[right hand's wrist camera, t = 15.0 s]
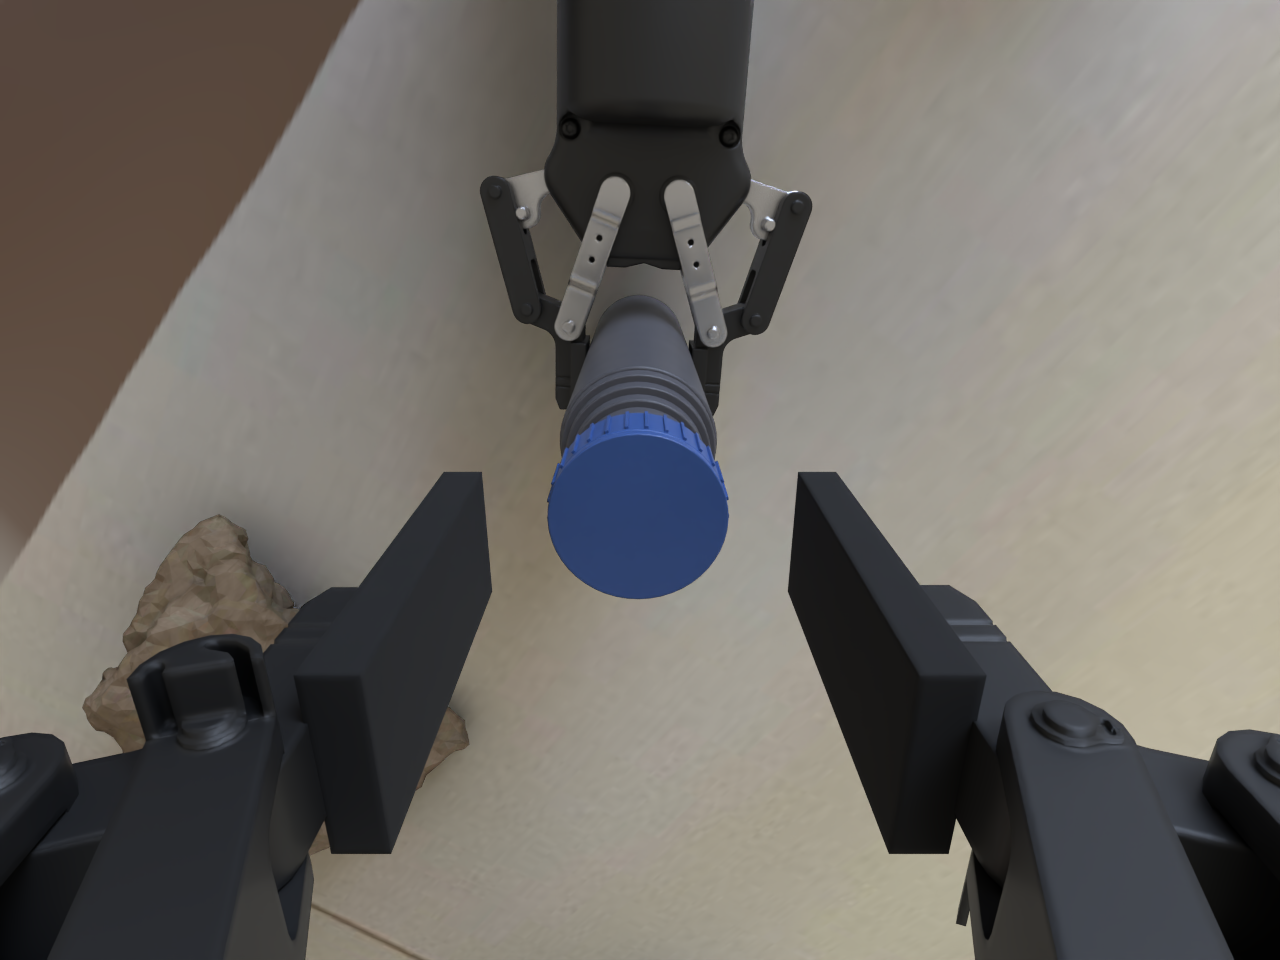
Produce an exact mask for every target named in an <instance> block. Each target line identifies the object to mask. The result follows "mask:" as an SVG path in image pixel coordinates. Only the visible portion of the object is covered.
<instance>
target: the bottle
mask: <svg viewBox="0 0 1280 960" xmlns="http://www.w3.org/2000/svg"><path fill="white" fill-rule="evenodd" d="M626 411H629V413H644V412H645V411H648V413H649V414H655V415H660V416H663V415H667V418H669V419H672V420H674V421H676V422H678V423H680V422H683V423H684V426H685V427H686V428H688V429H689V430H691V431H692V432H693V433H694V434H695V433H696V432H697V433H698V434H699V438H700V440H701V441H702V442H703V443H704V444H705V445H706V447H707V446H709V447H710V449H711V452H712V455H713V459H714V460H715V453H716V445H717V436H716V428H715V423H714V419H713V416H712V413H711V410H710V408H709V405H708V402H707V399H706V397H705V394H704V391H703V388H702V385H701V383H700V380H699V377H698V374H697V371H696V369H695V366H694V363H693V360H692V358H691V355H690V352H689V349H688V346H687V344H686V341H685V338H684V335H683V332H682V330H681V327H680V324H679V322H678V320H677V317H676V316H675V314H674V313H673V312H672V310H671V309H670V308H669V307H668V306H667V305H665V304H664V303H663V302H661V301H659V300H657V299H655V298H652V297H649V296H642V295H635V296H629V297H625V298H623V299H620V300H618V301H616V302H615V303H614V304H612V305H611V306H610V307H609V308H608V309H607V310H606V311H605V312H604V314H603V315H602V317H601V319H600V321H599V323H598V326H597V328H596V331H595V334H594V336H593V339H592V342H591V345H590V347H589V350H588V353H587V355H586V358H585V361H584V364H583V366H582V369H581V372H580V374H579V377H578V380H577V382H576V385H575V388H574V391H573V393H572V396H571V399H570V401H569V404H568V407H567V410H566V412H565V415H564V418H563V422H562V425H561V432H560V448H561V456H562V457H563V453H564V450H565V448H568V449H569V447H570V446H571V444H572V443H573V442H574V440H575V437H576V435H577V434H579V435H581V434H582V433H583V432H584V431H585V430H587V429H588V428H589V427H590V424H592V423H594V424H596V423H598V422H600V421H602V420H604V419H607V416H609V415H610V416H611V417H613V416H616V415H622V414H625V412H626Z"/></svg>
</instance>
